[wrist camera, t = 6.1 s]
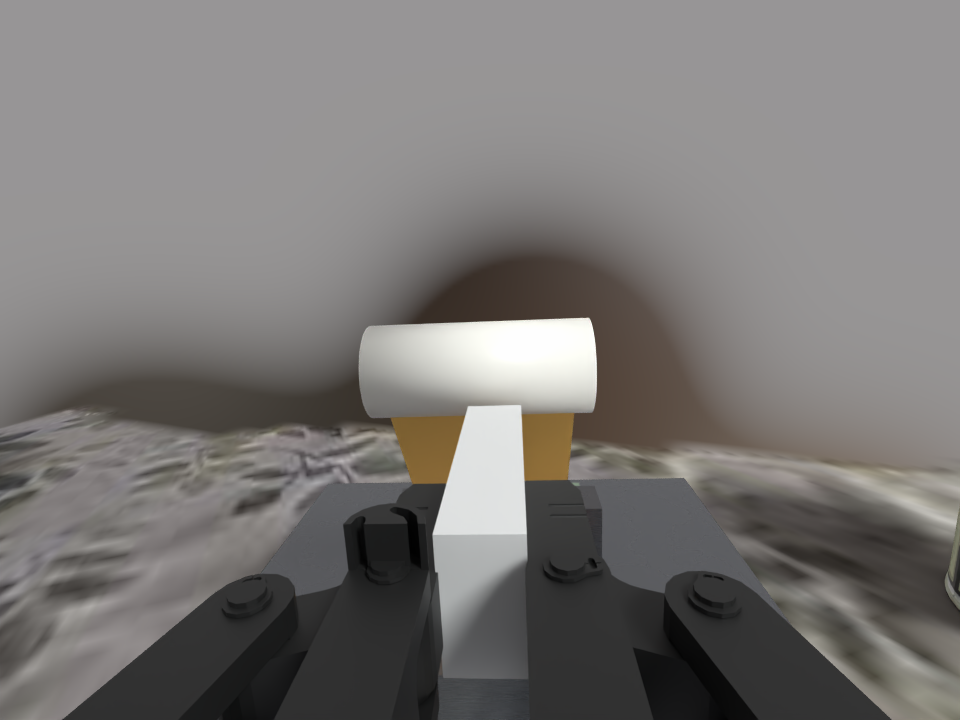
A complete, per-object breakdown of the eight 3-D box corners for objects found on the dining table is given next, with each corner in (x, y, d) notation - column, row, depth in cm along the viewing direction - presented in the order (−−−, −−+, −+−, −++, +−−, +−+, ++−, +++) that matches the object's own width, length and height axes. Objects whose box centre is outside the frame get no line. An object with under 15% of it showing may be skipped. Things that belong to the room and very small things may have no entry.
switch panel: (819, 768, 19) (839, 606, 18) (202, 755, 21) (171, 605, 19) (681, 532, 35) (686, 435, 33) (334, 535, 36) (323, 443, 35)
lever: (569, 576, 25) (600, 368, 14) (429, 576, 26) (352, 376, 15) (564, 519, 27) (587, 298, 16) (434, 520, 28) (370, 306, 17)
